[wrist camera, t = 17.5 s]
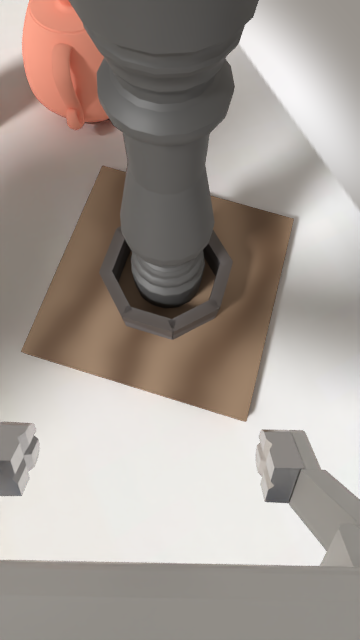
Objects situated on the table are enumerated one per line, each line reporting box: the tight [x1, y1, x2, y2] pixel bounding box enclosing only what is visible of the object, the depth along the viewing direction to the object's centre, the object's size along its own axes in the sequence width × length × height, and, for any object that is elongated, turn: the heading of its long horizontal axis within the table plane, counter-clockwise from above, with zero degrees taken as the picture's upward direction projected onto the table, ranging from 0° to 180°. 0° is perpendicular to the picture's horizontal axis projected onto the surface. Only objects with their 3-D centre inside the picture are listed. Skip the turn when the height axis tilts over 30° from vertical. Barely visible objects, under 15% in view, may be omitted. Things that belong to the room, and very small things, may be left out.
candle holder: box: [69, 0, 259, 308], centre depth 19 cm, size 6×6×25 cm
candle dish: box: [21, 166, 294, 422], centre depth 30 cm, size 20×20×4 cm
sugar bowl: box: [22, 0, 109, 130], centre depth 33 cm, size 12×14×10 cm
